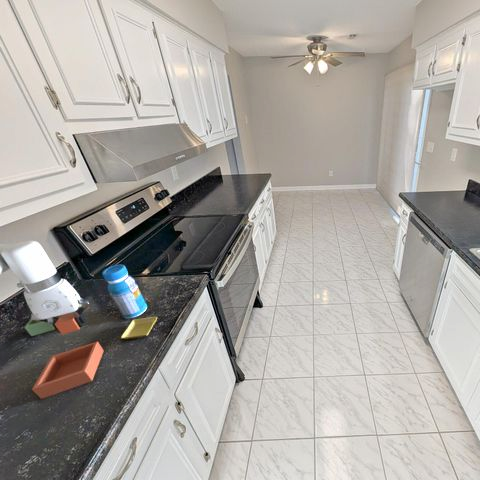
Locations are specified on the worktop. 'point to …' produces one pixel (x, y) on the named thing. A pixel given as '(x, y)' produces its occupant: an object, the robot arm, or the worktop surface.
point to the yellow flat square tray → (139, 328)
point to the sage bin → (39, 326)
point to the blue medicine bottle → (124, 291)
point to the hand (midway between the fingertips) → (72, 326)
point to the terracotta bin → (69, 370)
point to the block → (66, 323)
